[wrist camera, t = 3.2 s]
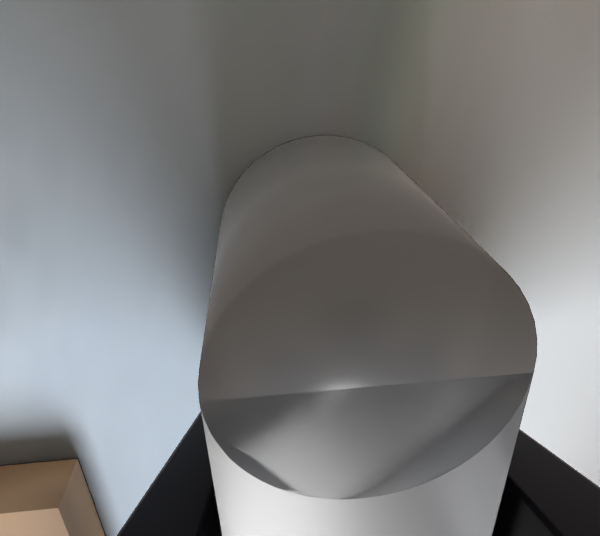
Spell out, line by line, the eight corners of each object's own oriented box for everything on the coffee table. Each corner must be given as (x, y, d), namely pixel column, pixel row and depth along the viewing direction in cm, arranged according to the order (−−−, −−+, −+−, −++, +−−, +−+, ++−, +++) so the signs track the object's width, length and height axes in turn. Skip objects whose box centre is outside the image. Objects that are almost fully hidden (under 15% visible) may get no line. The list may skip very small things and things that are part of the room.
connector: (427, 130, 8) (573, 217, 4) (386, 562, 13) (435, 755, 10) (209, 141, 8) (171, 243, 4) (260, 576, 13) (263, 779, 10)
